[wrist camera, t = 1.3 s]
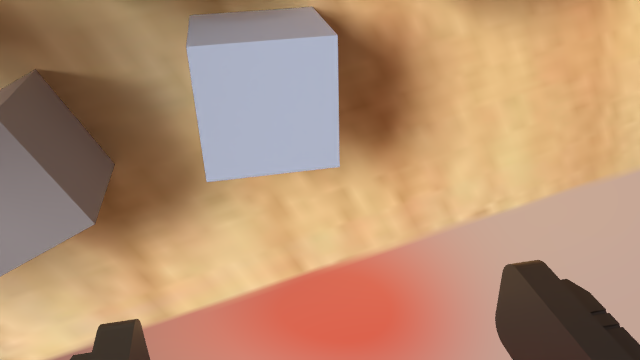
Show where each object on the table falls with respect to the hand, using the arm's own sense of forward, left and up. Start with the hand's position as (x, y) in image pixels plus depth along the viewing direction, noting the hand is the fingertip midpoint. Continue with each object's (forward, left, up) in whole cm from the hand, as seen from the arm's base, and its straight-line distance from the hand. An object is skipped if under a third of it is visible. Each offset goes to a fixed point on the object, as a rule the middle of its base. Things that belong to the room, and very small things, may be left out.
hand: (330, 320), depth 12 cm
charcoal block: (+3, -12, -19) cm, 22 cm away
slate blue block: (0, 0, -19) cm, 19 cm away
